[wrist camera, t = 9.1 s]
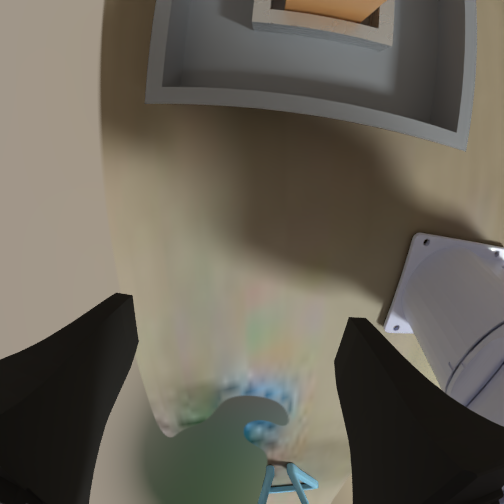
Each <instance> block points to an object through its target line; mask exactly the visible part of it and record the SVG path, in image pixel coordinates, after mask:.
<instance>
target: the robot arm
mask: <svg viewBox="0 0 504 504" xmlns="http://www.w3.org/2000/svg"><path fill="white" fill-rule="evenodd" d="M426 239H428V241H427V243H425V244H423V242H424V240H426ZM496 251H497V252H496ZM495 252H496V254H495ZM396 325H398V326H397V327H395V326H396ZM383 327H384V330H385V331H386V332H388V333H414V334H415V336H416V338H417V340H418V342H419V344H420V346H421V348H422V350H423V352H424V354H425V356H426V358H427V360H428V362H429V364H430V366H431V368H432V370H433V372H434V374H435V377H436V379H437V381H438V383H439V385H440V387H441V389H442V390H441V389H440V388H438V387H437V386H436V385H434V384H433V383H432V382H431V381H429V380H428V379H427V378H426V377H425V376H424V375H423V374H421V373H420V372H419V371H418V370H417V369H416V368H415V367H414V366H413V365H412V364H411V363H410V362H409V361H408V360H406V359H405V358H404V357H403V356H402V355H401V354H400V353H399V352H398V350H397V349H396V348H395V347H394V346H393V345H392V344H391V343H390V342H389V341H388V340H387V339H386V338H385V337H384V336H383V335H382V334H381V333H380V332H379V331H378V330H377V329H376V328H375V327H374V326H373V325H372V324H371V323H370V322H369V321H368V320H367V319H366V318H354V317H349V319H348V322H347V325H346V328H345V331H344V334H343V337H342V340H341V343H340V346H339V349H338V352H337V355H336V358H335V360H334V365H335V377H336V386H337V391H338V395H339V400H340V404H341V409H342V413H343V417H344V422H345V426H346V431H347V435H348V440H349V446H350V454H351V466H352V484H353V504H504V247H499V246H494V245H489V244H483V243H478V242H472V241H467V240H461V239H455V238H450V237H444V236H438V235H432V234H426V233H417V234H415V235H414V236H413V238H412V242H411V245H410V249H409V252H408V255H407V259H406V262H405V265H404V268H403V271H402V275H401V278H400V281H399V284H398V287H397V290H396V293H395V295H394V298H393V301H392V304H391V307H390V309H389V312H388V315H387V318H386V320H385V323H384V326H383ZM394 327H395V328H394ZM138 342H139V340H138V334H137V327H136V320H135V312H134V304H133V296H132V295H127V294H120V293H115V294H114V295H112V296H110V297H109V298H107V299H106V300H104V301H103V302H101V303H100V304H98V305H97V306H95V307H94V308H93V309H91V310H90V311H88V312H87V313H85V314H84V315H82V316H81V317H79V318H78V319H76V320H75V321H73V322H72V323H71V324H69V325H67V326H65V327H64V328H62V329H61V330H59V331H57V332H56V333H54V334H53V335H51V336H49V337H48V338H46V339H44V340H42V341H40V342H39V343H37V344H35V345H33V346H31V347H29V348H27V349H25V350H22V351H20V352H18V353H15V354H13V355H10V356H8V357H5V358H3V359H1V360H0V504H89V497H90V490H91V484H92V479H93V472H94V468H95V463H96V459H97V455H98V451H99V446H100V443H101V439H102V436H103V432H104V429H105V425H106V422H107V420H108V417H109V415H110V412H111V410H112V408H113V405H114V403H115V401H116V399H117V396H118V394H119V392H120V390H121V388H122V385H123V383H124V381H125V379H126V377H127V374H128V372H129V370H130V368H131V365H132V362H133V359H134V356H135V352H136V349H137V345H138Z"/></svg>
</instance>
